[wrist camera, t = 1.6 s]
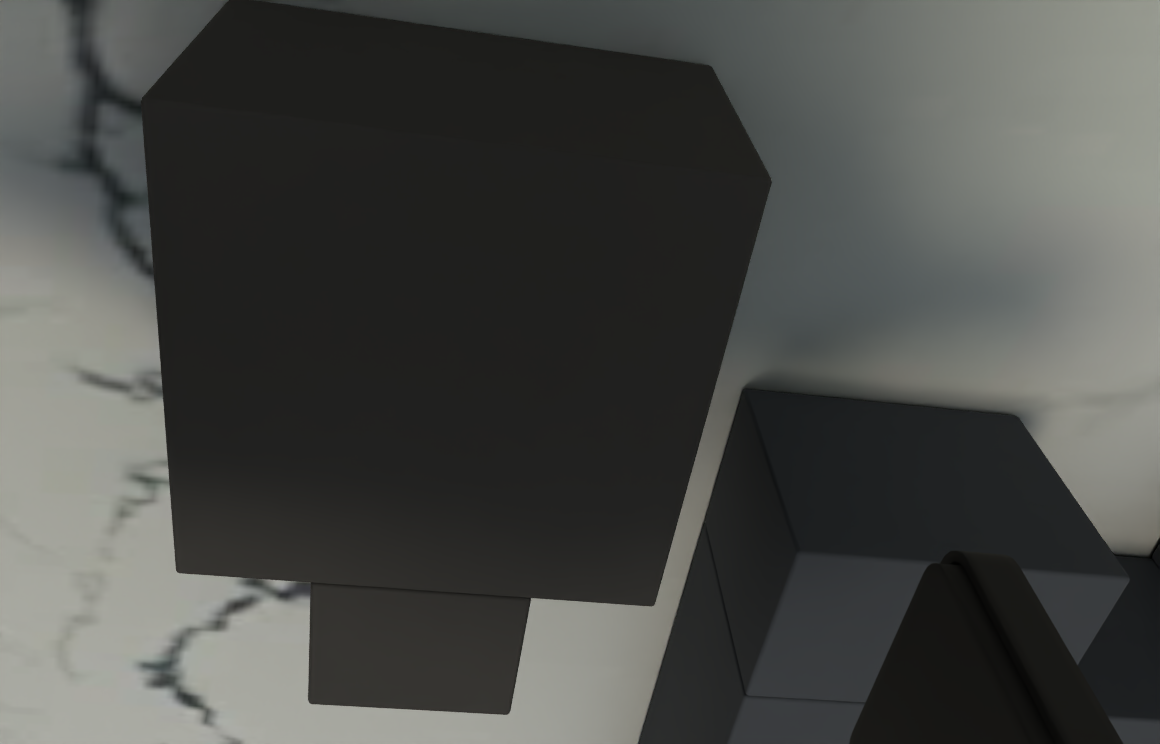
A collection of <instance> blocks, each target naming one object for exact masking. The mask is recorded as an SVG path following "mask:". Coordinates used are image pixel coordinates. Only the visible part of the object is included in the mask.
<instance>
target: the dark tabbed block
mask: <svg viewBox="0 0 1160 744" xmlns="http://www.w3.org/2000/svg"><path fill="white" fill-rule="evenodd" d="M141 107H142V120H143V134H144V147H145V160H146V174H147V187H148V201H149V214H150V227H151V241H152V254H153V268H154V281H155V294H156V308H157V321H158V335H159V348H160V361H161V375H162V388H163V402H164V415H165V428H166V442H167V455H168V469H169V482H170V495H171V509H172V522H173V536H174V549H175V562H176V571H177V572H178V573H185V574H199V575H214V576H228V577H242V578H256V579H270V580H285V581H299V582H311V598H310V643H309V687H308V700H309V703H311V704H321V705H340V706H358V707H376V708H394V709H412V710H430V711H449V712H467V713H485V714H503V715H507V714H509V712H510V710H511V704H512V699H513V693H514V688H515V683H516V677H517V672H518V666H519V661H520V656H521V650H522V645H523V639H524V634H525V628H526V623H527V618H528V612H529V607H530V601H531V598H540V599H554V600H568V601H583V602H597V603H611V604H625V605H639V606H654V604H655V602H656V598H657V595H658V591H659V587H660V584H661V580H662V576H663V573H664V569H665V566H666V562H667V558H668V555H669V551H670V548H671V544H672V540H673V537H674V533H675V530H676V526H677V522H678V519H679V515H680V511H681V508H682V504H683V501H684V497H685V493H686V490H687V486H688V483H689V479H690V475H691V472H692V468H693V465H694V461H695V457H696V454H697V450H698V446H699V443H700V439H701V436H702V432H703V428H704V425H705V421H706V418H707V414H708V410H709V407H710V403H711V400H712V396H713V392H714V389H715V385H716V381H717V378H718V374H719V371H720V367H721V363H722V360H723V356H724V353H725V349H726V345H727V342H728V338H729V335H730V331H731V327H732V324H733V320H734V317H735V313H736V309H737V306H738V302H739V298H740V295H741V291H742V288H743V284H744V280H745V277H746V273H747V270H748V266H749V262H750V259H751V255H752V252H753V248H754V244H755V241H756V237H757V233H758V230H759V226H760V223H761V219H762V215H763V212H764V208H765V205H766V201H767V197H768V194H769V190H770V187H771V183H772V181H771V178H770V176H769V174H768V172H767V170H766V168H765V166H764V164H763V162H762V161H761V159H760V157H759V155H758V153H757V151H756V149H755V147H754V146H753V144H752V142H751V140H750V138H749V136H748V134H747V132H746V130H745V129H744V127H743V125H742V123H741V121H740V119H739V117H738V115H737V113H736V112H735V110H734V108H733V106H732V104H731V102H730V100H729V98H728V97H727V95H726V93H725V91H724V89H723V87H722V85H721V83H720V81H719V80H718V78H717V76H716V74H715V72H714V70H713V68H712V67H711V66H709V65H702V64H695V63H688V62H681V61H674V60H667V59H660V58H653V57H646V56H639V55H632V54H625V53H618V52H611V51H604V50H597V49H590V48H583V47H576V46H569V45H562V44H555V43H548V42H541V41H534V40H527V39H520V38H513V37H506V36H499V35H492V34H485V33H478V32H472V31H465V30H458V29H451V28H444V27H437V26H430V25H423V24H416V23H409V22H402V21H395V20H388V19H381V18H374V17H367V16H360V15H353V14H346V13H339V12H332V11H325V10H318V9H311V8H304V7H297V6H290V5H283V4H276V3H269V2H262V1H255V0H228V2H227V3H226V4H225V5H224V6H223V7H222V8H221V9H220V11H219V12H218V13H217V14H216V15H215V16H214V17H213V18H212V20H211V21H210V22H209V23H208V24H207V25H206V26H205V27H204V29H203V30H202V31H201V32H200V33H199V34H198V35H197V37H196V38H195V39H194V40H193V41H192V42H191V43H190V44H189V46H188V47H187V48H186V49H185V50H184V51H183V52H182V53H181V55H180V56H179V57H178V58H177V59H176V60H175V61H174V62H173V64H172V65H171V66H170V67H169V68H168V69H167V70H166V71H165V73H164V74H163V75H162V76H161V77H160V78H159V79H158V81H157V82H156V83H155V84H154V85H153V86H152V87H151V88H150V90H149V91H148V92H147V93H146V94H145V95H144V96H143V97H142V100H141Z"/></svg>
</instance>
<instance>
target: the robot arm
mask: <svg viewBox="0 0 1160 744" xmlns="http://www.w3.org/2000/svg"><path fill="white" fill-rule="evenodd" d="M849 744H1123V742H1122V740H1121V739H1120V737H1119V735H1118V733H1117V732H1116V730H1115V728H1114V727H1113V725H1112V723H1111V721H1110V720H1109V718H1108V716H1107V715H1106V713H1105V711H1104V710H1103V708H1102V706H1101V704H1100V703H1099V701H1098V699H1097V698H1096V696H1095V694H1094V692H1093V691H1092V689H1091V687H1090V686H1089V684H1088V682H1087V681H1086V679H1085V677H1084V675H1083V674H1082V672H1081V670H1080V669H1079V667H1078V665H1077V663H1076V662H1075V660H1074V658H1073V657H1072V655H1071V653H1070V652H1069V650H1068V648H1067V646H1066V645H1065V643H1064V641H1063V640H1062V638H1061V636H1060V634H1059V633H1058V631H1057V629H1056V628H1055V626H1054V624H1053V623H1052V621H1051V619H1050V617H1049V616H1048V614H1047V612H1046V611H1045V609H1044V607H1043V605H1042V604H1041V602H1040V600H1039V599H1038V597H1037V595H1036V594H1035V592H1034V590H1033V588H1032V587H1031V585H1030V583H1029V582H1028V580H1027V578H1026V576H1025V575H1024V573H1023V571H1022V570H1021V568H1020V566H1019V565H1018V564H1017V563H1016V561H1015V560H1014V559H1013V558H1011V557H1009V556H1007V555H1002V554H990V553H979V552H968V551H950V552H949V553H947V554H946V555H945V556H944V557H943V559H942V561H941V562H940V563H932V564H930V565H929V566H928V567H927V568H926V570H925V571H924V573H923V575H922V577H921V580H920V582H919V584H918V586H917V589H916V591H915V593H914V595H913V598H912V600H911V602H910V604H909V606H908V609H907V611H906V613H905V615H904V618H903V620H902V622H901V624H900V627H899V629H898V631H897V633H896V635H895V638H894V640H893V642H892V644H891V647H890V649H889V651H888V653H887V656H886V658H885V660H884V662H883V665H882V667H881V669H880V671H879V673H878V676H877V678H876V680H875V682H874V685H873V687H872V689H871V691H870V694H869V696H868V698H867V700H866V703H865V705H864V707H863V709H862V711H861V714H860V716H859V718H858V720H857V723H856V725H855V727H854V729H853V732H852V734H851V738H850V743H849Z"/></svg>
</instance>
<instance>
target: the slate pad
mask: <svg viewBox="0 0 1160 744" xmlns="http://www.w3.org/2000/svg"><path fill="white" fill-rule="evenodd" d="M950 551H968V552H979V553H990V554H1002V555H1007V556H1009V557H1011V558H1013V559H1014V560H1015V561H1016V563H1017V564H1018V565H1019V566H1020V568H1021V570H1022V571H1023V573H1024V575H1025V576H1026V578H1027V580H1028V582H1029V583H1030V585H1031V587H1032V588H1033V590H1034V592H1035V594H1036V595H1037V597H1038V599H1039V600H1040V602H1041V604H1042V605H1043V607H1044V609H1045V611H1046V612H1047V614H1048V616H1049V617H1050V619H1051V621H1052V623H1053V624H1054V626H1055V628H1056V629H1057V631H1058V633H1059V634H1060V636H1061V638H1062V640H1063V641H1064V643H1065V645H1066V646H1067V648H1068V650H1069V652H1070V653H1071V655H1072V657H1073V658H1074V660H1075V662H1076V663H1077V665H1078V667H1079V669H1080V670H1081V672H1082V674H1083V675H1084V677H1085V679H1086V681H1087V682H1088V684H1089V686H1090V687H1091V689H1092V691H1093V692H1094V694H1095V696H1096V698H1097V699H1098V701H1099V703H1100V704H1101V706H1102V708H1103V710H1104V711H1105V713H1106V715H1107V716H1108V718H1109V720H1110V721H1111V723H1112V725H1113V727H1114V728H1115V730H1116V732H1117V733H1118V735H1119V737H1120V739H1121V740H1122V742H1123V744H1160V544H1159V545H1158V547H1157V549H1156V550H1155V552H1154V553H1153V555H1152V559H1147V558H1135V557H1123V556H1114V554H1113V553H1112V551H1111V550H1110V549H1109V547H1108V546H1107V544H1106V543H1105V541H1104V540H1103V539H1102V537H1101V536H1100V534H1099V533H1098V531H1097V530H1096V528H1095V527H1094V526H1093V524H1092V523H1091V521H1090V520H1089V518H1088V517H1087V515H1086V514H1085V513H1084V511H1083V510H1082V508H1081V507H1080V505H1079V504H1078V503H1077V501H1076V500H1075V498H1074V497H1073V495H1072V494H1071V492H1070V491H1069V490H1068V488H1067V487H1066V485H1065V484H1064V482H1063V481H1062V480H1061V478H1060V477H1059V475H1058V474H1057V472H1056V471H1055V469H1054V468H1053V467H1052V465H1051V464H1050V462H1049V461H1048V459H1047V458H1046V456H1045V455H1044V454H1043V452H1042V451H1041V449H1040V448H1039V446H1038V445H1037V444H1036V442H1035V441H1034V439H1033V438H1032V436H1031V435H1030V433H1029V432H1028V431H1027V429H1026V428H1025V426H1024V425H1023V423H1022V422H1021V421H1020V419H1019V418H1018V417H1016V416H1010V415H1000V414H991V413H981V412H971V411H961V410H951V409H941V408H931V407H921V406H911V405H901V404H891V403H881V402H871V401H861V400H851V399H841V398H831V397H822V396H812V395H802V394H792V393H782V392H772V391H762V390H752V389H744V391H743V393H742V397H741V400H740V403H739V407H738V410H737V413H736V417H735V420H734V424H733V427H732V430H731V434H730V437H729V441H728V444H727V447H726V451H725V454H724V457H723V461H722V464H721V468H720V471H719V474H718V478H717V481H716V484H715V488H714V491H713V495H712V498H711V501H710V505H709V508H708V512H707V515H706V518H705V523H704V525H703V529H702V532H701V535H700V539H699V542H698V546H697V549H696V552H695V556H694V559H693V562H692V566H691V569H690V573H689V576H688V579H687V583H686V586H685V589H684V593H683V596H682V600H681V603H680V606H679V610H678V613H677V616H676V620H675V623H674V627H673V630H672V633H671V637H670V640H669V644H668V647H667V650H666V654H665V657H664V660H663V664H662V667H661V671H660V674H659V677H658V681H657V684H656V687H655V691H654V694H653V698H652V701H651V704H650V708H649V711H648V715H647V718H646V721H645V725H644V728H643V731H642V735H641V738H640V742H639V744H849V743H850V738H851V734H852V732H853V729H854V727H855V725H856V723H857V720H858V718H859V716H860V714H861V711H862V709H863V707H864V705H865V703H866V700H867V698H868V696H869V694H870V691H871V689H872V687H873V685H874V682H875V680H876V678H877V676H878V673H879V671H880V669H881V667H882V665H883V662H884V660H885V658H886V656H887V653H888V651H889V649H890V647H891V644H892V642H893V640H894V638H895V635H896V633H897V631H898V629H899V627H900V624H901V622H902V620H903V618H904V615H905V613H906V611H907V609H908V606H909V604H910V602H911V600H912V598H913V595H914V593H915V591H916V589H917V586H918V584H919V582H920V580H921V577H922V575H923V573H924V571H925V570H926V568H927V567H928V566H929V565H930V564H932V563H940V562H941V561H942V559H943V557H944V556H945V555H946V554H947V553H949V552H950Z"/></svg>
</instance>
